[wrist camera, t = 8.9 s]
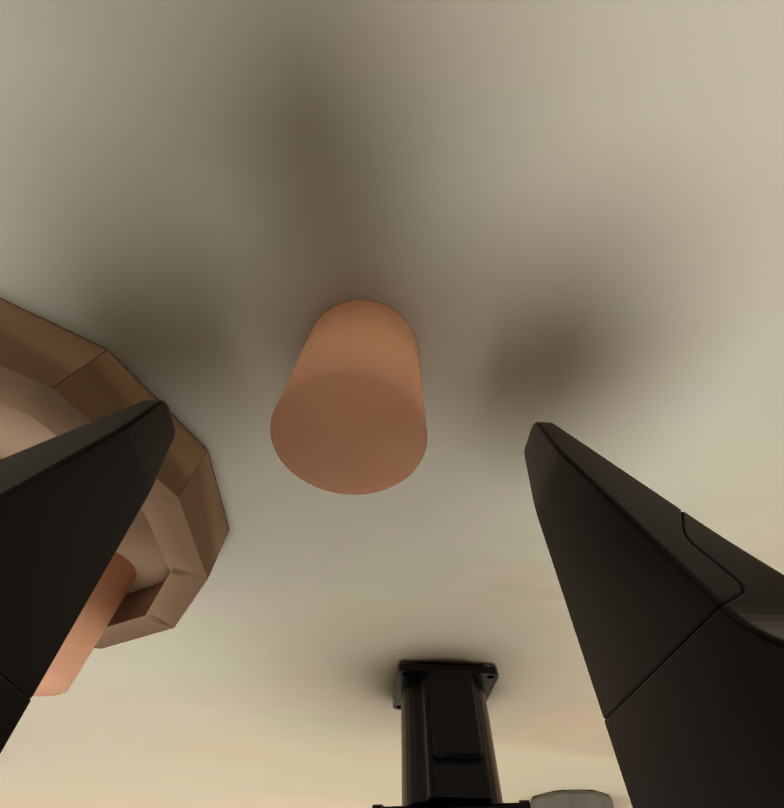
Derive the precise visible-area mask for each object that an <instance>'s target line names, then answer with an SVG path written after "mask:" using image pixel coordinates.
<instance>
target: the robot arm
mask: <svg viewBox="0 0 784 808" xmlns="http://www.w3.org/2000/svg"><path fill="white" fill-rule="evenodd" d="M174 437H175V426H174V423H173V419H172V416H171V413H170V410H169V407H168V405H167V403H166V402H165V401H163V400H144V401H141V402H139V403H136V404H134V405H131V406H129V407H127V408H124V409H122V410H119V411H117V412H114V413H112V414H110V415H107V416H105V417H102V418H100V419H97V420H95V421H93V422H90V423H88V424H85V425H83V426H80V427H78V428H76V429H73V430H71V431H68V432H66V433H64V434H61V435H59V436H56V437H54V438H51V439H49V440H47V441H44V442H42V443H39V444H37V445H34V446H32V447H30V448H27V449H25V450H22V451H20V452H17V453H15V454H13V455H10V456H8V457H5V458H3V459H0V753H1V751H2V750H3V748H4V746H5V744H6V743H7V741H8V739H9V737H10V736H11V734H12V732H13V730H14V729H15V727H16V725H17V723H18V722H19V720H20V718H21V717H22V715H23V713H24V711H25V710H26V708H27V706H28V704H29V703H30V699H29V698H32V697H33V695H34V693H35V692H36V690H37V688H38V686H39V685H40V683H41V681H42V679H43V678H44V676H45V674H46V672H47V671H48V669H49V667H50V666H51V664H52V662H53V660H54V659H55V657H56V655H57V653H58V652H59V650H60V648H61V646H62V645H63V643H64V641H65V639H66V638H67V636H68V634H69V633H70V631H71V629H72V627H73V626H74V624H75V622H76V620H77V619H78V617H79V615H80V613H81V612H82V610H83V608H84V606H85V605H86V603H87V601H88V599H89V598H90V596H91V594H92V593H93V591H94V589H95V587H96V586H97V584H98V582H99V580H100V579H101V577H102V575H103V573H104V572H105V570H106V568H107V566H108V565H109V563H110V561H111V560H112V558H113V556H114V554H115V553H116V551H117V549H118V547H119V546H120V544H121V542H122V540H123V539H124V537H125V535H126V533H127V532H128V530H129V528H130V526H131V525H132V523H133V521H134V520H135V518H136V516H137V514H138V513H139V511H140V509H141V507H142V506H143V504H144V502H145V500H146V499H147V497H148V495H149V493H150V491H151V489H152V487H153V485H154V483H155V481H156V479H157V476H158V474H159V472H160V469H161V467H162V465H163V462H164V460H165V458H166V456H167V453H168V451H169V449H170V446H171V444H172V442H173V439H174ZM525 460H526V465H527V470H528V475H529V480H530V485H531V490H532V495H533V500H534V505H535V509H536V512H537V516H538V519H539V522H540V525H541V528H542V531H543V534H544V537H545V540H546V543H547V547H548V550H549V553H550V556H551V559H552V562H553V565H554V568H555V571H556V574H557V577H558V580H559V583H560V586H561V589H562V592H563V595H564V598H565V601H566V604H567V607H568V611H569V614H570V617H571V620H572V623H573V626H574V629H575V632H576V635H577V638H578V641H579V644H580V647H581V650H582V653H583V656H584V659H585V662H586V665H587V668H588V672H589V675H590V678H591V681H592V684H593V687H594V690H595V693H596V696H597V699H598V702H599V705H600V708H601V711H602V714H603V717H604V718H605V719H606V720H605V724H606V727H607V730H608V733H609V736H610V739H611V742H612V746H613V749H614V752H615V755H616V758H617V761H618V764H619V767H620V770H621V773H622V776H623V779H624V782H625V785H626V788H627V791H628V794H629V797H630V800H631V803H632V806H633V808H784V575H783V574H781V573H780V572H778V571H776V570H775V569H773V568H771V567H770V566H768V565H767V564H765V563H763V562H762V561H760V560H758V559H757V558H755V557H753V556H752V555H750V554H749V553H747V552H745V551H744V550H742V549H740V548H739V547H737V546H736V545H734V544H732V543H731V542H729V541H727V540H726V539H724V538H723V537H721V536H720V535H718V534H717V533H715V532H714V531H712V530H711V529H709V528H708V527H706V526H705V525H703V524H701V523H700V522H698V521H697V520H696V519H694V518H693V517H691V516H690V515H688V514H687V513H685V512H681V510H680V509H679V508H678V507H676V506H675V505H673V504H672V503H670V502H669V501H667V500H666V499H664V498H663V497H661V496H660V495H658V494H657V493H655V492H654V491H652V490H651V489H650V488H648V487H647V486H645V485H644V484H642V483H641V482H639V481H638V480H636V479H635V478H633V477H632V476H630V475H629V474H627V473H626V472H624V471H623V470H621V469H620V468H618V467H617V466H615V465H614V464H612V463H611V462H609V461H608V460H606V459H605V458H603V457H602V456H601V455H599V454H598V453H596V452H595V451H593V450H592V449H590V448H589V447H587V446H586V445H584V444H583V443H581V442H580V441H578V440H577V439H575V438H574V437H572V436H571V435H569V434H568V433H566V432H565V431H563V430H562V429H560V428H559V427H557V426H556V425H555V424H553V423H550V422H536V423H534V424H533V426H532V428H531V431H530V434H529V437H528V440H527V443H526V446H525ZM497 679H498V671H497V668H495V667H488V666H463V665H437V664H412V663H403V664H400V665H399V666H398V670H397V677H396V683H395V689H394V695H393V708H394V709H398V710H401V735H402V806H393V807H384V806H383V805H373V806H372V808H531V806H530V802H529V800H519V803H503V801H502V794H501V788H500V782H499V776H498V770H497V764H496V758H495V752H494V745H493V739H492V733H491V727H490V721H489V715H488V709H487V703H486V701H487V699H488V697H489V695H490V693H491V691H492V689H493V687H494V685H495V683H496V681H497Z"/></svg>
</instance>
